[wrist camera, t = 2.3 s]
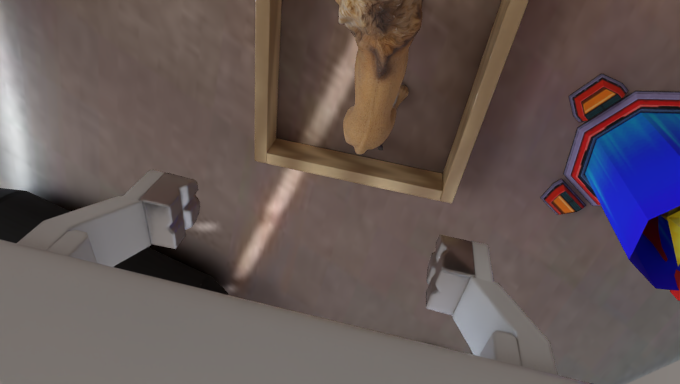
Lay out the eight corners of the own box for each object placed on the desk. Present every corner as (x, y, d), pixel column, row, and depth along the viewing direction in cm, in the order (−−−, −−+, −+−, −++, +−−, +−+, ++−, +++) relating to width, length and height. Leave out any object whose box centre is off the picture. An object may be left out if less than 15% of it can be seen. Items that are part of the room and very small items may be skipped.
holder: (264, 145, 35) (254, 161, 33) (270, -159, 23) (255, -163, 21) (451, 185, 34) (452, 204, 32) (560, -113, 22) (572, -113, 20)
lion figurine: (338, -68, 25) (299, -51, 18) (428, -74, 24) (424, -58, 17) (350, 144, 34) (327, 213, 27) (417, 147, 33) (411, 219, 26)
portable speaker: (241, 268, 45) (200, 349, 38) (218, 314, 51) (178, 392, 43) (12, 161, 42) (-86, 224, 34) (15, 223, 48) (-67, 289, 40)
